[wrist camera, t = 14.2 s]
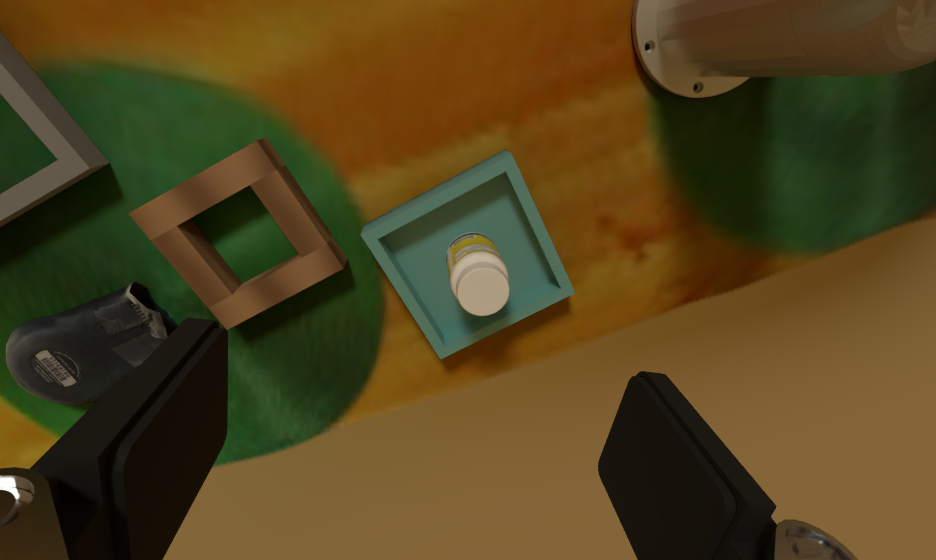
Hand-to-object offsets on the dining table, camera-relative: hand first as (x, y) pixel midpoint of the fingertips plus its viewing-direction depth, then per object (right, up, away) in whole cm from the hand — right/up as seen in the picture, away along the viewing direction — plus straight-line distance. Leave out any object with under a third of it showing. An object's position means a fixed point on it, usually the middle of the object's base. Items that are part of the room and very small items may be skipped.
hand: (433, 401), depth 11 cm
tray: (+1, +5, +33) cm, 34 cm away
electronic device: (-33, -3, +34) cm, 47 cm away
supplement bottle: (+1, +5, +33) cm, 33 cm away
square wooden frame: (-18, +7, +30) cm, 36 cm away
